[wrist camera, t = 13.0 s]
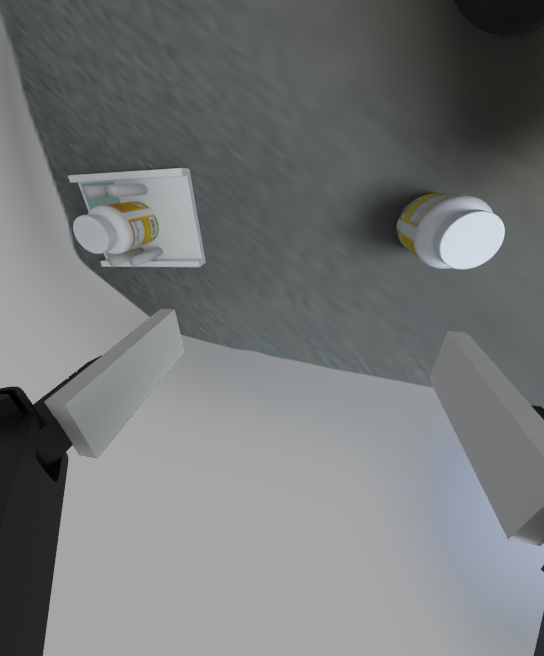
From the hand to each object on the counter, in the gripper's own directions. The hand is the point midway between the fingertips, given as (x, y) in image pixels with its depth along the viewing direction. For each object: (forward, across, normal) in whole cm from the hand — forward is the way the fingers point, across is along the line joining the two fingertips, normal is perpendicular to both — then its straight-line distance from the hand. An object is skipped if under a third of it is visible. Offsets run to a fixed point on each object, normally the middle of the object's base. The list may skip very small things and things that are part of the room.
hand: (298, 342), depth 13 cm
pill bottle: (+26, +13, +2) cm, 29 cm away
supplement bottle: (+24, -24, +2) cm, 34 cm away
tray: (+25, -24, +2) cm, 35 cm away
